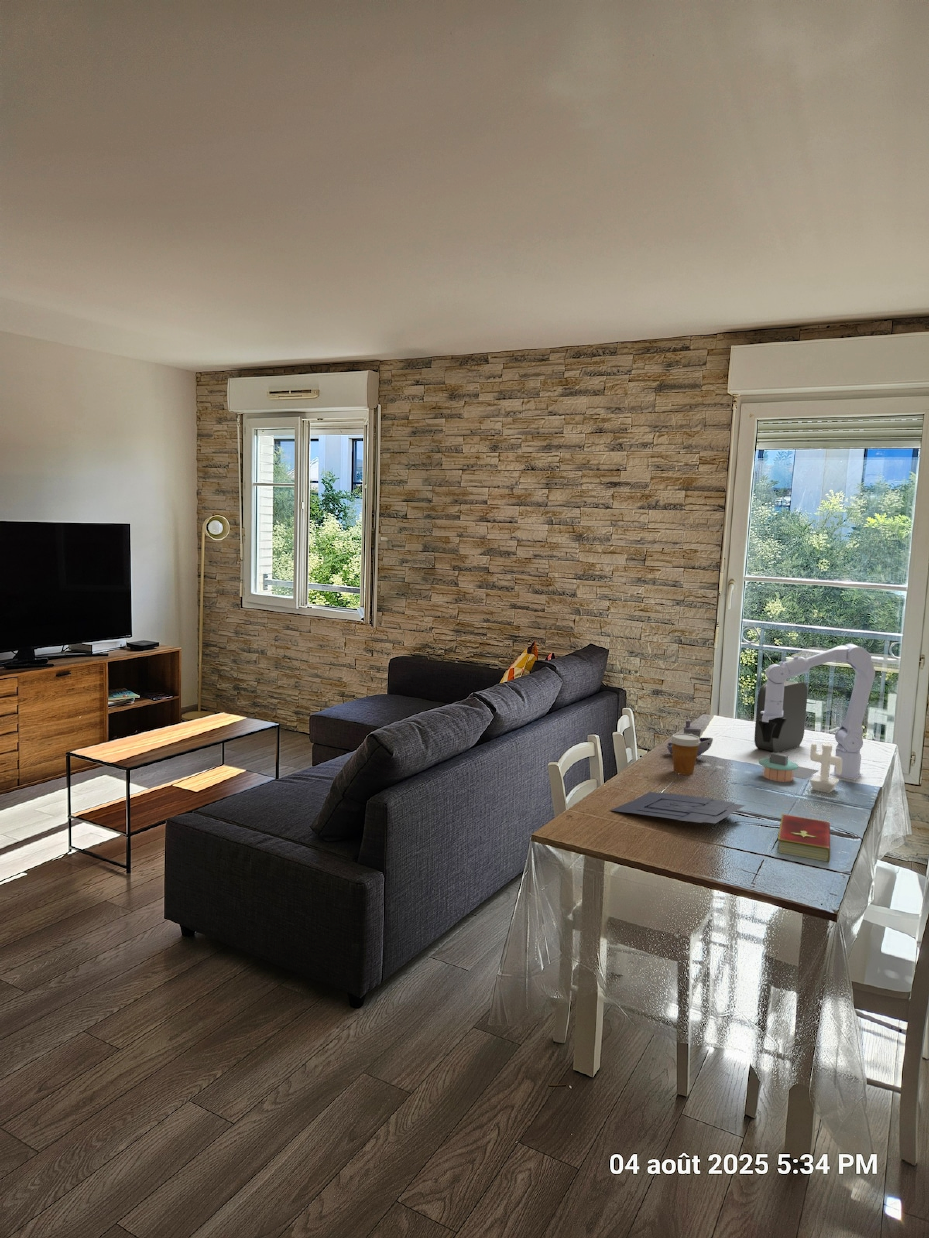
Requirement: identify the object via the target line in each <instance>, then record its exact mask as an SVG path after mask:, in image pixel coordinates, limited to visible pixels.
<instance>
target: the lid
mask: <svg viewBox="0 0 929 1238" xmlns="http://www.w3.org/2000/svg"><path fill="white" fill-rule="evenodd" d="M758 764H759V765H760V766H762V767H763V768H764V767H767V768H771V769H776V770H796V769H798V766H799V764H798V763H796V762H794V761H790V760H789V755H788V754H784V753H780V752H778V753H775V752H773V751H771V753H770V754H769V758H768V757H767V758H761V759H759V760H758Z"/></svg>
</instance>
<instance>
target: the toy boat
mask: <svg viewBox="0 0 929 1238" xmlns="http://www.w3.org/2000/svg"><path fill="white" fill-rule="evenodd" d="M691 722H692V720H691V719H685V725H684V726H683V734H691V735H695V736H698V737H699V739H700V742H701V743H700V745H699V747H698V752H697V757H699V756H701V755H703V754H704V753H706V752H708V750H709V749H710V748H711V746H712V744H713V739H714V738H712V737H700V736H701V731H702V727H703V726H702V725H691ZM666 748H667V750H668V752H669V754H672V755H673V751H672V742H671V741H669V742H667V745H666Z"/></svg>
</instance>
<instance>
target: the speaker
mask: <svg viewBox="0 0 929 1238" xmlns="http://www.w3.org/2000/svg"><path fill="white" fill-rule="evenodd" d="M766 686H767V682H765V683H763V684H762V685H761V687H760V688H759V690H758V694H757V700H756V701H757V702H756V712H755V713H756V715H755V723H754V724H755V725H754V736H753V737H754V740H753V741H754V745H755V747H756V749H758V750H759V749H761V750H765V751H769V752H775V753H780V754H782V753H785V752H787V751H791V750H793V749H796V748H799V746H801V744H802V742H803V738H804V736H805V727H806V719H807V717H806V715H807V704H808V702H807V701H808V686H807V684H806V683H805V682H802V681H799V682H798V681H797V682H796V681H791V680H788V679H787V680H786V681H785V682H784V698H783V711H784V713H783V717H784V718H787V720H786V722H785V723H784V725H783V727H782V729H781V732H780V735H779V738H778V739H777V738H771V741H770V742H764V741H763V736H762V730H761V727H760V725H759V723H758V720H760V719H761V720H762V716H763V714H761V711H764V708H765V695H766Z"/></svg>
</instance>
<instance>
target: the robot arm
mask: <svg viewBox="0 0 929 1238" xmlns="http://www.w3.org/2000/svg"><path fill="white" fill-rule="evenodd" d="M834 661H836V662H841V663H847V664H848V665H850V666H851V668H852V670H854V672H855V674H856V677H855V681H854V684H853V688H852V691H851V696H850V700H849V704H848V706H847V711H846V714H845V718H844V720H843V721H842V722H841V724H840V726H839V728H838V729H837V730H836V732H835V734H834V738H835V742H836V743H837V745H836V746H835V755H834V756H836V757H840V758H842V773H841V774H840V775H837V774H836V766H835V765H833V768H834V770H833V771H832V772H831V773H829V776H834V777H840V778H844V779H849V780H853V781H854V780H857V779H858V778H859V777H861V776H863V775H864V774H863V773H861V763H862V761H861V760H862V756H861V755H862V754H861V749H862V747H863V746H864V741H863V740H864V739H863V734H864V730H863V725H862V724H863V722H864V717H865V714H866V710H867V707H868V702H869V698H870V694H871V692H872V687H873V684H874V681H875V676H876V670H875V667H874V666H875V665H874V663H873V661H872V655H871V654H870V653H869V652H868V651H867V649H866V648H864V647H861V646H858V645H857V644H854V643H846V644H844V645H843V644H841V645H837V646H835V647H832V648H830V649H828V650H825V651H822V652H819V653H817V654H815V655H814V654H813V655H811V656H809V657H806V658H805V657H803V656H798V655H795V656H793V657H792V658H791V659H789V660H784V661H782V660H781V661H779V662H778V663H779V664H777V663H772V664H771V665H769V666H768V667H767V668H766V671H765V672H764V674H765V676H766V678H767V679H766V683H767V686H766V695H765V708H764V711H761V714H763V716H762V720H761V719H760V720H758V723H759V725H760V727H761V730H762V736H763V741H764V742H770V741H771V738H777V739H778V738H779V735H780V732H781V729H782V727H783V725H784V723H785V722H786V720H787V718H784V717H783V713H784V711H783V698H784V682H785V681H786V680H788V679H792V678H795V677H798V676H801V675H805V674H807V673H808V672H809V670H810V669H811V668H813V667H814V668H815V667H817V666H821V665H823V664H827V663H830V662H834Z"/></svg>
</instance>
